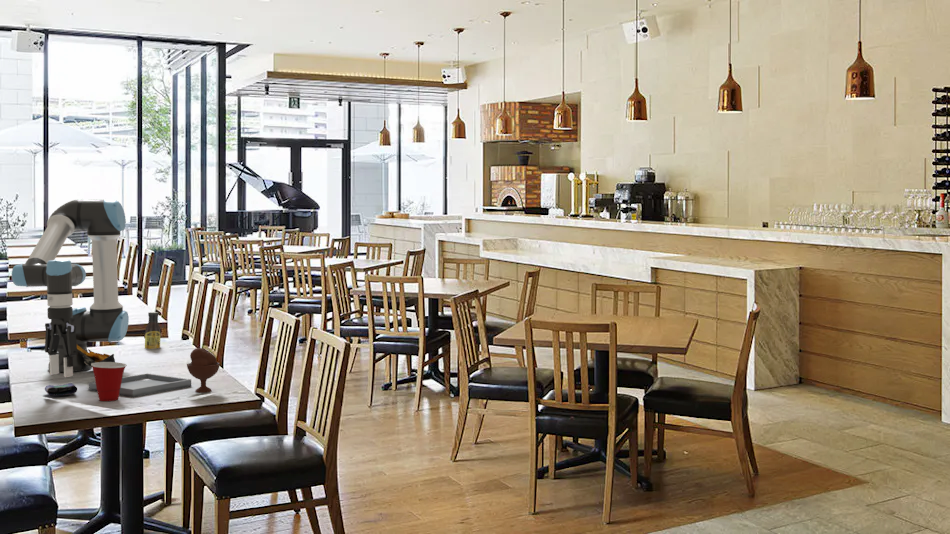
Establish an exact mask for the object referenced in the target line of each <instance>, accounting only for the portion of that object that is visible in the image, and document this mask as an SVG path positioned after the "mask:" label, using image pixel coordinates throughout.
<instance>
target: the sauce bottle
mask: <svg viewBox="0 0 950 534" xmlns="http://www.w3.org/2000/svg"><path fill="white" fill-rule="evenodd" d="M158 317H159V312H157V311H156V312H155V311H149V312H148V323H147V324H146V326H145V335H144V349H148V350H152V349H153V350H154V349H160V348H161V326H160V324H159V318H158Z"/></svg>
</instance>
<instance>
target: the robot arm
mask: <svg viewBox="0 0 950 534" xmlns="http://www.w3.org/2000/svg"><path fill="white" fill-rule="evenodd" d="M123 207H124V206H122V204H121V203H120V202H119V201H118V200H115V199H106V198H105V199H73V200H70V201H67V202H65V203H63V204H62V205H61V206H59V207H58V208H57V209H55V210H54V212H52V214H51V215H50V216H49V218H48V219H47V220H46V221H47V222H46V226H47V227H46V229H45V230H44V232H43V234H42V235H41V237H40V238H39V240H38V242H37V243H36V245H35V247H34V249H33V251H32V252H31V253H30V255H29V257H28V259H27V260H26V261H25V263H20V264H16V265H15V264H14V266H13V268H12V270H11V280H12V282H13V284H14V286H16V287H26V288H29V287H30V288H31V287H32V288H33V287H46V295H47V297H46V300H47V306H48V307H47V319H49V320H50V322H46V323H45V324H44V327H45V337H44V338H45V339H44V352H45V353H47V354H48V355H49V363H48V367H47V368H48V369H47V370H48V371H49V375H50V376H53V375H58V374H59V375H60V373H63V377H64V378H67V377H73V376H74V372H81V371H82V372H83V371H87V370H88V371H89V370H91V369H93V368H92V367H90V366H89V365H87V364H86V363H84V361H85V359H84V358H83V352H81V351H80V350H78V349H77V345H78V346H80V347H81V348H82V349H84V350H85V351H86V352H88V353H89V350H88V347H87V346H88V345H87V344H88V342H89V343H92V342H94V343H96V342H97V343H98V342H108V343H112V342H120V341H122V340H123V339H124V338H125V337H126V334H127V331H128V328H129V323H130V321H129V320H130V319H129V313H128V311H126V310H124V308H123V307H124V306H123V304H121V302H120V301H119V285H118V284H119V283H118V282H119V281H118V255H117V254H118V251H117V250H118V249H117V240H118V239H119V238H120V237H121V232H122V231H124V230H125V229H126V222H127V221H126V213H125V209H124V208H123ZM77 231H87V232H86V233H87V234H86V235H87V237H88V238H89V239H90V240H91V249H92V250H91V251H92V252H91V253H92V255H91V256H92V282H93V285H92V286H93V304H91V305H90V306H89V310H87V308H86V307H74V308H73V307H72V305H73V304H74V303H73V287H77V286H79V285H81V284H83V283H84V282H85V280H86V277H87V273H86V270H85V268H84V267H83V266H82V265H80V264H78V263H72V261H71V260H70V259H56V258H57V256H58V255H59V253H60V251H61V249H62V247H63V245H65V242H66V240H67V238H68V237H70V236H72V235H73V234H74V232H77Z"/></svg>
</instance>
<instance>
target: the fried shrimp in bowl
mask: <svg viewBox="0 0 950 534" xmlns="http://www.w3.org/2000/svg"><path fill="white" fill-rule="evenodd" d="M77 349H78V350H80V351H81V352H83V358H84V359H85V361H84V363H86V364H87V365H89V366H90V367H92V366H91V364H92V363H96V362H116V359H115V354H114V353H112V354H107V353H103V354H102V353H98V352H94V351H92V350H90V349H88V348H87V351H88V352H86V351H85V350H84V349H82V348H81V347H80V346H78V345H77Z"/></svg>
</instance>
